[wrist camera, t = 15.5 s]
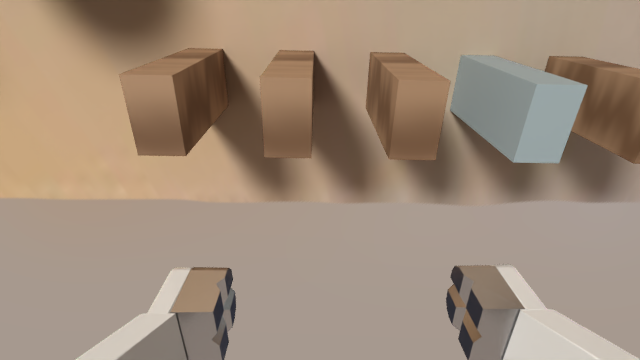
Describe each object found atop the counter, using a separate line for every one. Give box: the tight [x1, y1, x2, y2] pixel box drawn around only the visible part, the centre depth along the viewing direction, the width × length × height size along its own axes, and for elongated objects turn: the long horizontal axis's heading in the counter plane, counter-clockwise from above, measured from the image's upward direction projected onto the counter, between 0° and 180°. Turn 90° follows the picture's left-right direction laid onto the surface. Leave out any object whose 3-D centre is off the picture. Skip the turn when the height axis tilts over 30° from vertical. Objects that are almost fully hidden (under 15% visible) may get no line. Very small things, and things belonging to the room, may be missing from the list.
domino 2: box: [260, 50, 314, 158], centre depth 26 cm, size 5×3×12 cm, turn 179°
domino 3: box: [366, 52, 450, 160], centre depth 27 cm, size 5×3×12 cm, turn 179°
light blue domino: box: [450, 55, 588, 163], centre depth 27 cm, size 5×3×12 cm, turn 179°
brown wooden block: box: [545, 56, 640, 164], centre depth 27 cm, size 5×3×12 cm, turn 179°
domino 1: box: [119, 48, 228, 156], centre depth 26 cm, size 5×3×12 cm, turn 179°
